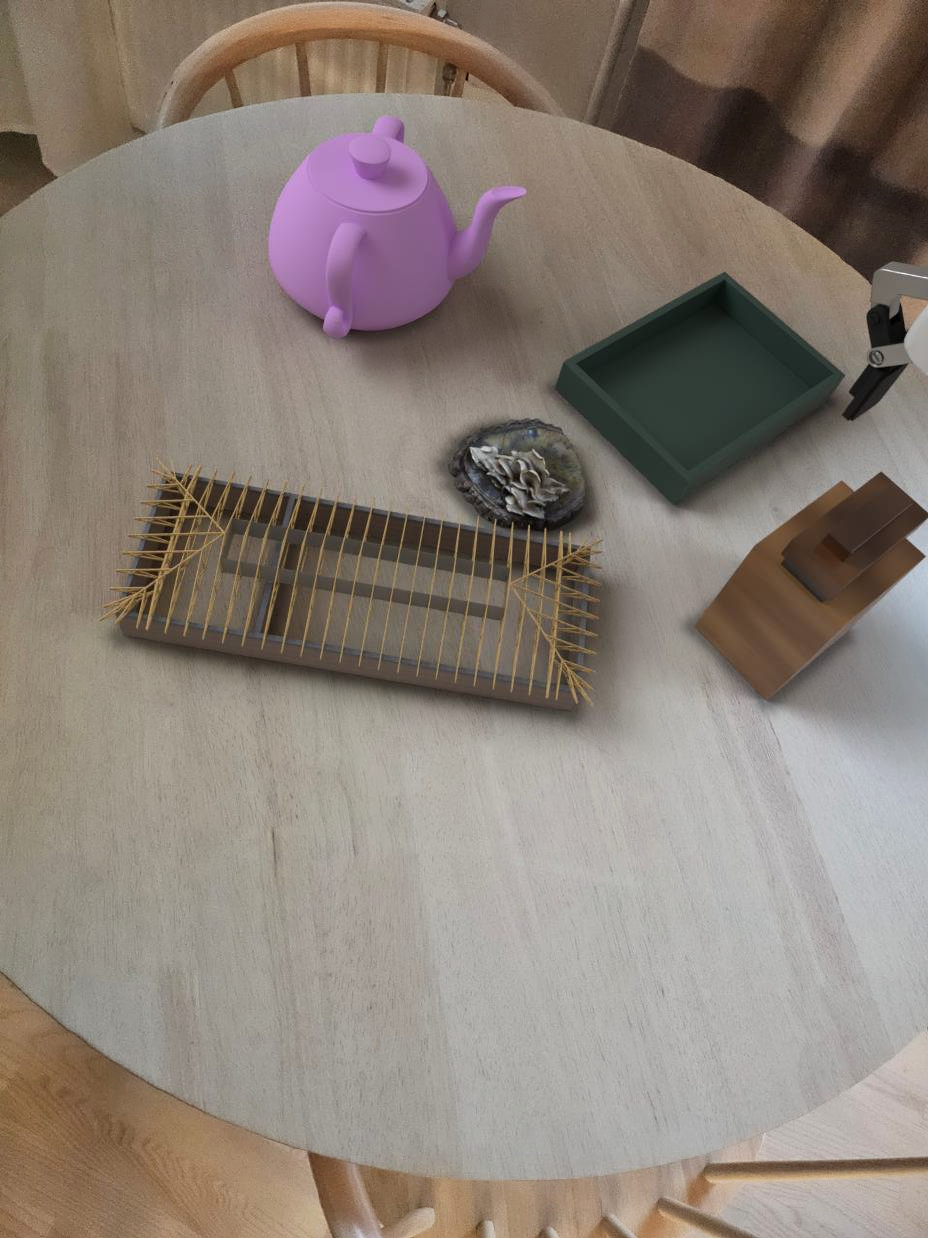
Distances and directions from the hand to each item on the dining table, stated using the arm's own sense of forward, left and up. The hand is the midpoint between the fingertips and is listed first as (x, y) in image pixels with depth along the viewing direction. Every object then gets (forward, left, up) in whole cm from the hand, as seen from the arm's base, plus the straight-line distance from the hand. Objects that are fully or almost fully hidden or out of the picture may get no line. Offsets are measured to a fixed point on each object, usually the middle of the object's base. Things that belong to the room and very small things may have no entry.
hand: (919, 462), depth 57 cm
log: (+7, -23, -22) cm, 33 cm away
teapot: (+3, -47, -22) cm, 52 cm away
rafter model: (+25, -21, -22) cm, 39 cm away
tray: (-13, -21, -22) cm, 33 cm away
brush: (0, 0, -10) cm, 10 cm away
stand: (0, 0, -22) cm, 22 cm away
